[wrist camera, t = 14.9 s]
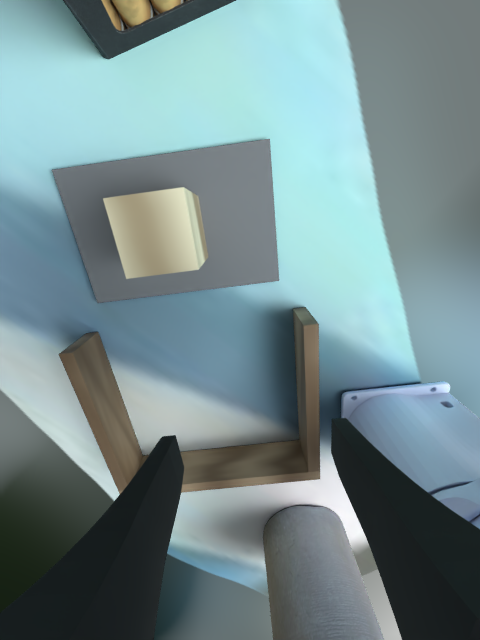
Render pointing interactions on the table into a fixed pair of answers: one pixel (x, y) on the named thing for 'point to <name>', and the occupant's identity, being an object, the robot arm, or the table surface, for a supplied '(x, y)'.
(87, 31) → the ammunition clip
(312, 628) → the pillar candle
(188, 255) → the birch block
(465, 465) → the robot arm
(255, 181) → the mat
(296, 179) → the table surface
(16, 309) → the table surface
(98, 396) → the open wooden frame
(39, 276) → the table surface
